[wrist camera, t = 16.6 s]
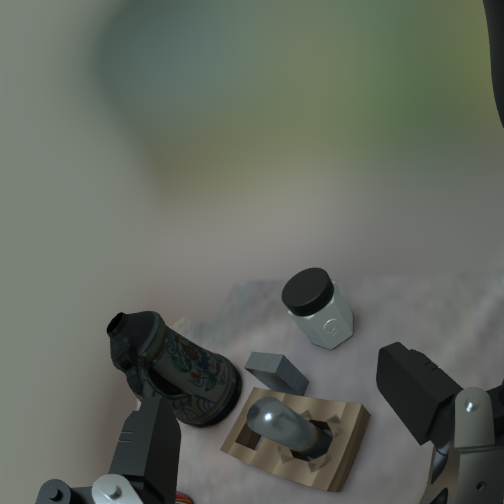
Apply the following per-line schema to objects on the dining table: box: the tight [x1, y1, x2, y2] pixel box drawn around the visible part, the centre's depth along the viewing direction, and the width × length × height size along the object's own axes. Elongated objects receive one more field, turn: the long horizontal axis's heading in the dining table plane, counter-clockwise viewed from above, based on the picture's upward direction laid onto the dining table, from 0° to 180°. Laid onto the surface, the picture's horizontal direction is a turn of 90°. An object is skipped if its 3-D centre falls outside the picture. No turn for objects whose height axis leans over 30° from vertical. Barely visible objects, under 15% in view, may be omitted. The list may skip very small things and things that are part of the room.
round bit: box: [247, 397, 333, 459], centre depth 25 cm, size 4×4×16 cm
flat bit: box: [244, 352, 309, 396], centre depth 39 cm, size 3×6×9 cm, turn 57°
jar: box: [282, 268, 353, 350], centre depth 43 cm, size 9×8×12 cm
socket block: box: [220, 387, 370, 492], centre depth 30 cm, size 18×12×5 cm, turn 60°
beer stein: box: [107, 311, 241, 428], centre depth 43 cm, size 16×19×25 cm
